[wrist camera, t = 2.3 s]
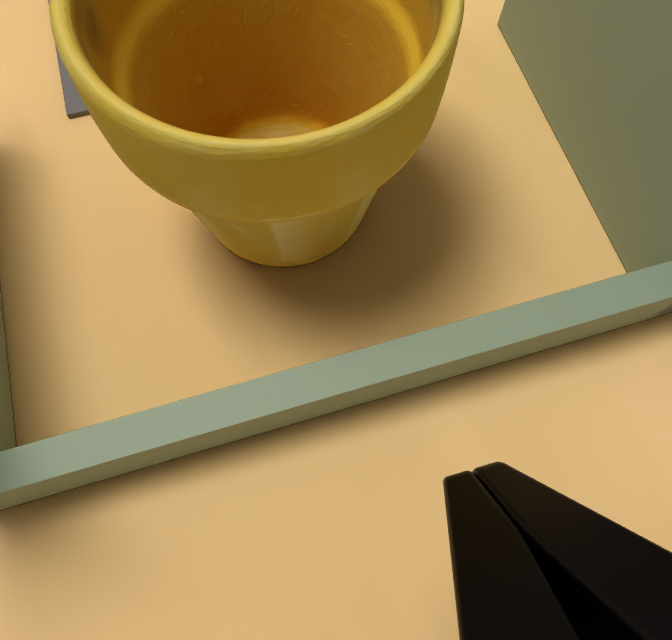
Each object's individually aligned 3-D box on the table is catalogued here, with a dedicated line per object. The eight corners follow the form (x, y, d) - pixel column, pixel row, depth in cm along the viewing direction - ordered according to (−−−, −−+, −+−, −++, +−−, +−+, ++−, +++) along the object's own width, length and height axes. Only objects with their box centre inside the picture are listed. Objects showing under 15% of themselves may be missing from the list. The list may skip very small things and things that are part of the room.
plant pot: (465, 169, 24) (546, -63, 14) (315, 367, 21) (298, 234, 11) (266, 55, 26) (226, -210, 17) (105, 220, 23) (-52, 9, 14)
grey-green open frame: (680, 309, 21) (1061, 60, 10) (-16, 514, 19) (-533, 485, 8) (521, 18, 26) (659, -364, 15) (-44, 149, 24) (-382, -191, 13)
